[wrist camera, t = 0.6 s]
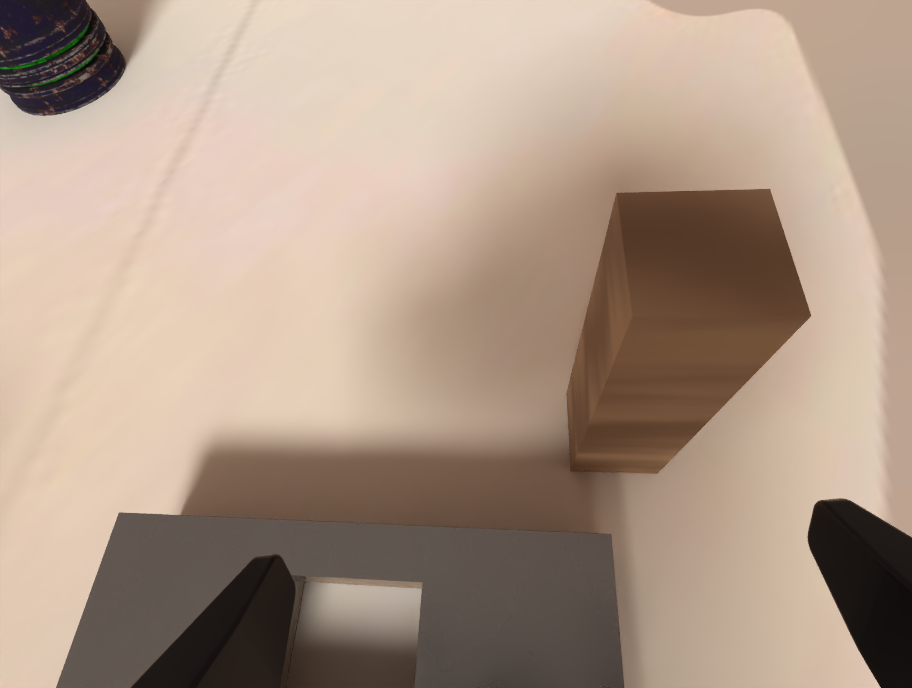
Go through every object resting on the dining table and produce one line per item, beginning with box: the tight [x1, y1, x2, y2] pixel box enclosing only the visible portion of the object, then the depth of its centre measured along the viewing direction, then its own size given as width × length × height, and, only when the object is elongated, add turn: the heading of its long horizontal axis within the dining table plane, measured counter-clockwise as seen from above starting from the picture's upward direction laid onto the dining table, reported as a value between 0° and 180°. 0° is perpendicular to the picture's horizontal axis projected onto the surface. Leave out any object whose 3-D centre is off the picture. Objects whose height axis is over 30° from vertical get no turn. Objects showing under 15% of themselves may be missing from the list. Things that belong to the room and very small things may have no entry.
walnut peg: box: [567, 189, 811, 473], centre depth 19 cm, size 4×4×14 cm
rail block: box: [56, 513, 624, 688], centre depth 20 cm, size 10×20×4 cm, turn 87°
